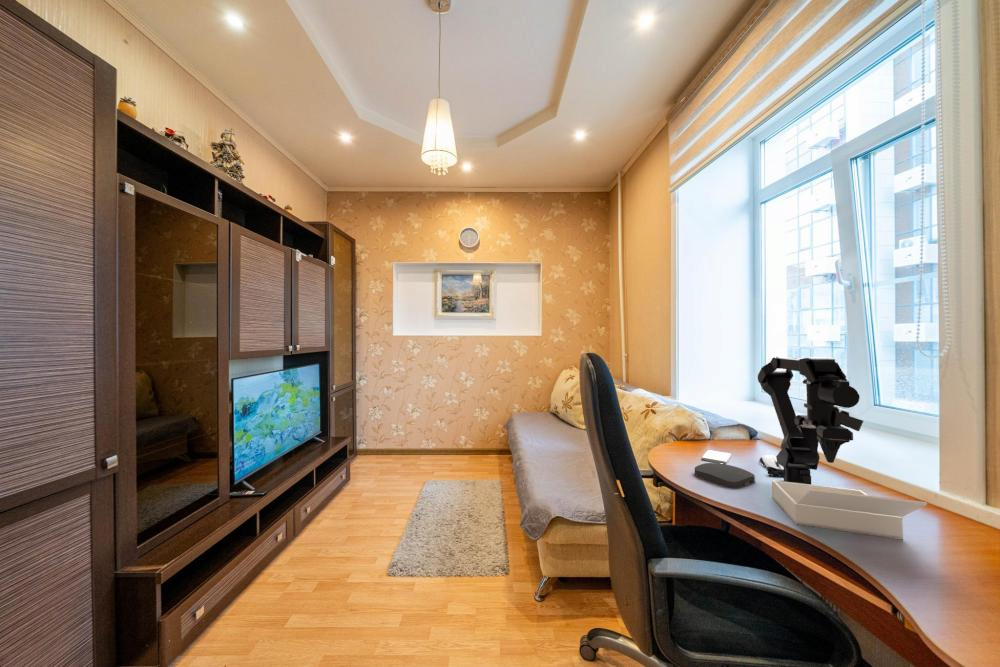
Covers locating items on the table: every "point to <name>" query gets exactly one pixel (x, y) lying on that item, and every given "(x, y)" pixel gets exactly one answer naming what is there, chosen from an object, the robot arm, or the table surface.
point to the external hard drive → (716, 456)
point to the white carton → (833, 512)
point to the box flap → (860, 502)
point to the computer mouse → (772, 465)
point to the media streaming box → (725, 474)
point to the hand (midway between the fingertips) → (822, 457)
